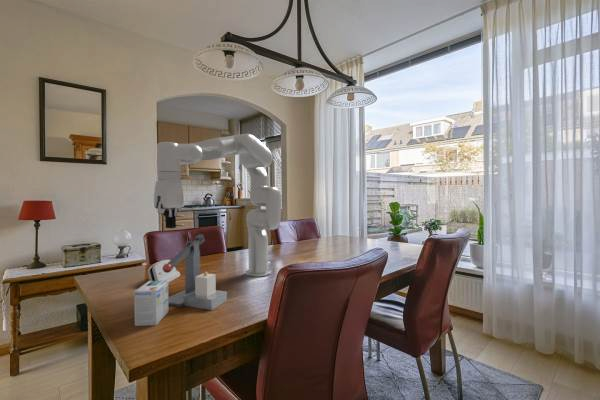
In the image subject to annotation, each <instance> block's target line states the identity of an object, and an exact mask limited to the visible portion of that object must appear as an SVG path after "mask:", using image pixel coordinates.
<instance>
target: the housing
mask: <svg viewBox="0 0 600 400" xmlns="http://www.w3.org/2000/svg"><path fill="white" fill-rule="evenodd" d="M216 275H217V274H215V273H208V272H207V271H203V273H200V275H198V276H196V277H195V295H200V296H209V295H211V294H213V293H215V292H216V290H217V289H216V287H217V285H216V284H217V280H216V279H217V277H216Z"/></svg>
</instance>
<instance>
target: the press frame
mask: <svg viewBox="0 0 600 400" xmlns="http://www.w3.org/2000/svg"><path fill="white" fill-rule="evenodd" d="M191 242H193V240H191V241H187V242H186V241H185V248H186V247H187V246H188V245H189V244H190V243H191ZM184 261H185V262H184V271H185V272H184V273H185V274H184V279H185V280H184V281H185V289H184V290H182V291H180V292H177V293H175V294H172V295H171V296H168V306H171V307H176V308H177V307H178V308H181V307H183V306H184V307H185V306H186V307H190V308H191V307H192V308H195V309H202V310H203V309H204V310H209V311H210V310H211V311H213V310H215V309H216V308H217V307H220V306H221V305H223V304H225V303H226V302H228V301H227V300H228V293H227V292H228V291H226V290H217V289H216V292H215V293H213V294H211V295H209V296H200V295H195V277H196V276H198V275H201V251H200V244H199V242H195V243H193V250H192V251H191V252H190V253H189V254H188V255H187V256H186V257H185V258H184Z"/></svg>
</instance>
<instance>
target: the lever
mask: <svg viewBox="0 0 600 400" xmlns="http://www.w3.org/2000/svg"><path fill="white" fill-rule="evenodd" d="M205 241H206V240H205V236H204V234H202V233H199V234H198V235H196V236H195V237H194V240H192V242H191V243H190V244H189V245H188V246H187V247H186V246H185V247H184V248H183V249H182V250H181V251H179V253H178V254H176V255H175V256H174V257H173V258H172V259H170V260H171V261H169V262H168V263H167V264H165V265H164V266H163V271H164V272H166V273H168V272H170V271H171V270H172V269H173V268H174V267H175V268H176V266H177V265H178V264H179V263H180V262H182V261H183V260H185V257H186V256H187V255H188V254H189V253H190V252H191V251H193V243H195V242H199V245H202V244H203V243H204V242H205Z"/></svg>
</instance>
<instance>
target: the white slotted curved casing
mask: <svg viewBox="0 0 600 400" xmlns="http://www.w3.org/2000/svg"><path fill="white" fill-rule="evenodd" d="M171 260H172V259H163V260H160V261H157V262H155V263H153V264H152V265H150V267H149V268H148V269H147V274H148V279H149V281H162V280H168V283H170V282H172V281H174V280H176V279H177V278H179V277H180V276H181V273H180V271H178V270H177V269H176V266H175V267H174V268H173V269H172V270H171V271H170V272H168V273H166V272H164V271H163V266H164V265H165V264H167V263H168V262H169V261H171Z"/></svg>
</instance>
